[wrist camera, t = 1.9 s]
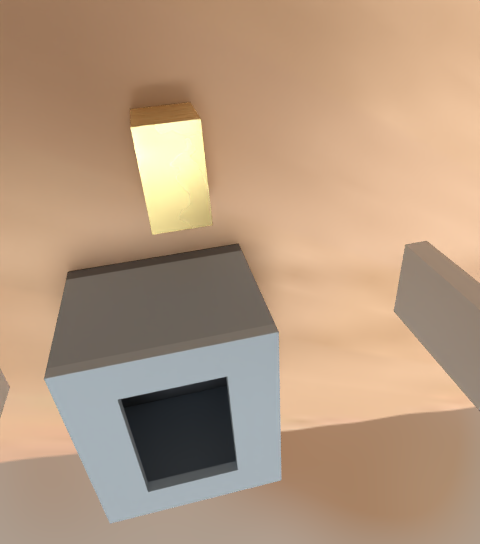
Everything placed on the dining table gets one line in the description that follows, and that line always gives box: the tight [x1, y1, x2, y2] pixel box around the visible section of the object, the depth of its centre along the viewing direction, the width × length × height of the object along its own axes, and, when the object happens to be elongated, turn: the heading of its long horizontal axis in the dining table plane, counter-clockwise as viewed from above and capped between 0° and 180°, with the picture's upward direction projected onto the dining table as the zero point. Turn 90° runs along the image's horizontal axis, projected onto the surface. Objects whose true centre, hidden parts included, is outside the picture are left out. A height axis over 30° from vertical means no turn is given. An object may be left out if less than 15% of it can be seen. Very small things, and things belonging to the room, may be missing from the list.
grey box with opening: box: [44, 244, 281, 523], centre depth 30 cm, size 14×12×10 cm
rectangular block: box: [130, 102, 213, 235], centre depth 25 cm, size 6×4×4 cm, turn 4°
